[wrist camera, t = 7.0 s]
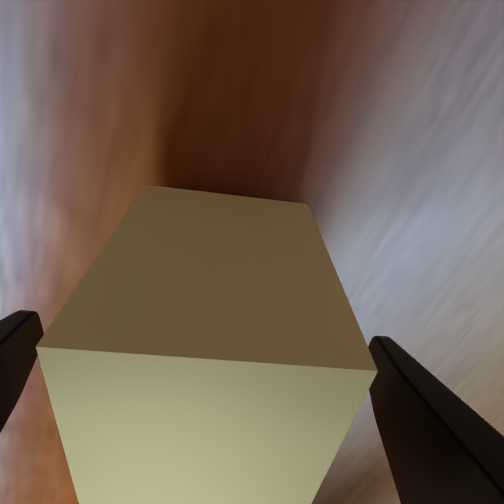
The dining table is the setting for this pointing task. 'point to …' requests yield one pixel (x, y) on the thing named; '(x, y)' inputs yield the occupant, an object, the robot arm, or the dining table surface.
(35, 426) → the dining table surface
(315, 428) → the cream rectangular block
